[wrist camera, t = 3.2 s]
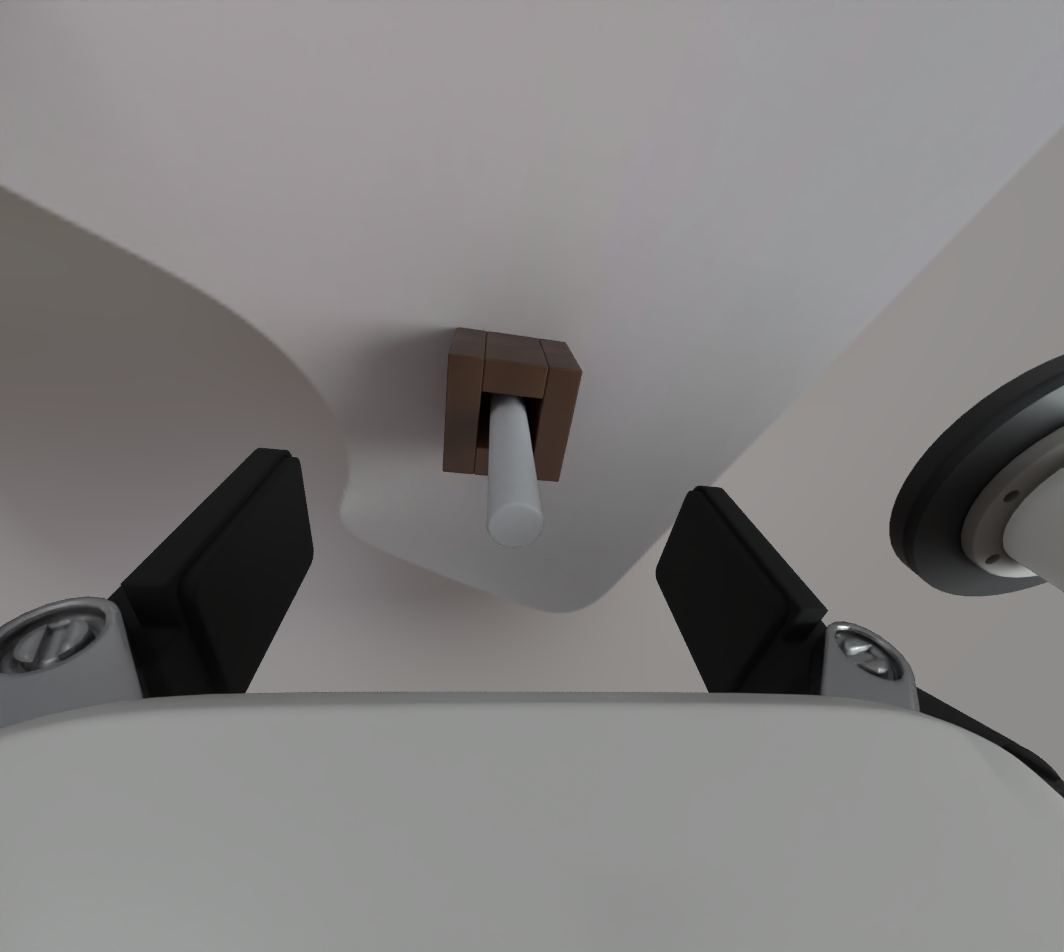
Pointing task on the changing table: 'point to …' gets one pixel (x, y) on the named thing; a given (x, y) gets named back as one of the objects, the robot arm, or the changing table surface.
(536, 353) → the pen block
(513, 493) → the stylus
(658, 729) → the robot arm
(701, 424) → the changing table surface
